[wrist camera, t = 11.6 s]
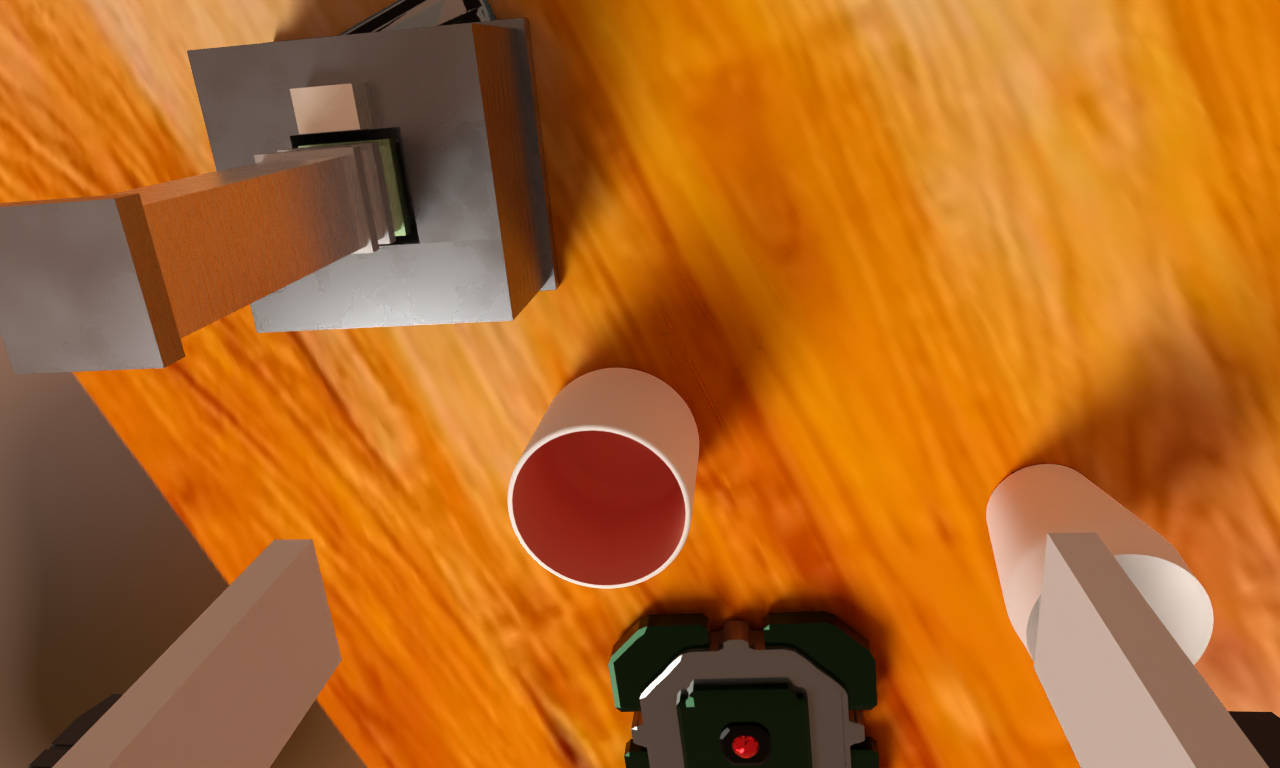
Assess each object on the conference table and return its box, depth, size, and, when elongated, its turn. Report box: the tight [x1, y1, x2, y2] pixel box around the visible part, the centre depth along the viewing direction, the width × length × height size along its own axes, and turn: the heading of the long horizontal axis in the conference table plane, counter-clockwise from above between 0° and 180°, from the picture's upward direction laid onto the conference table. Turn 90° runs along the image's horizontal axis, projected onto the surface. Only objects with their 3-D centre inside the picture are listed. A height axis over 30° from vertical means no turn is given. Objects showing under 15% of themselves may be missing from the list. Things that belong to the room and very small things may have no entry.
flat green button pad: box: [608, 611, 879, 768], centre depth 60 cm, size 18×18×5 cm
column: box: [0, 138, 413, 374], centre depth 34 cm, size 5×5×21 cm
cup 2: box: [986, 464, 1213, 665], centre depth 48 cm, size 9×9×12 cm
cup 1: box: [508, 368, 699, 589], centre depth 50 cm, size 10×10×10 cm
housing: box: [187, 18, 559, 333], centre depth 45 cm, size 15×15×10 cm
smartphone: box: [338, 0, 496, 36], centre depth 49 cm, size 7×1×15 cm
